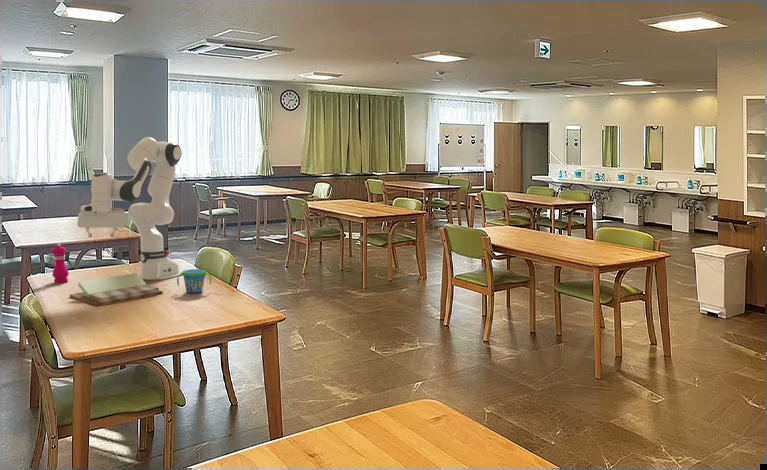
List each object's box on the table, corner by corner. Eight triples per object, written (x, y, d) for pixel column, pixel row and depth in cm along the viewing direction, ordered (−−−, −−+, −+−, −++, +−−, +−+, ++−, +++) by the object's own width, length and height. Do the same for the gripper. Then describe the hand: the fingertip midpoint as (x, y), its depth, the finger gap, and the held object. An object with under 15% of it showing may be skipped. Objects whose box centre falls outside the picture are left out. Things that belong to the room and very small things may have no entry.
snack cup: (212, 289, 317) (212, 268, 316) (210, 294, 307) (209, 273, 306) (179, 289, 315) (178, 269, 314) (175, 295, 305) (175, 273, 304)
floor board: (135, 285, 323) (134, 279, 323) (162, 293, 307) (162, 287, 307) (69, 296, 299) (69, 290, 299) (96, 306, 283) (95, 298, 283)
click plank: (135, 276, 318) (136, 273, 317) (146, 287, 313) (146, 284, 312) (78, 285, 297) (78, 282, 296) (88, 297, 292) (88, 294, 291)
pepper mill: (72, 281, 332) (69, 242, 329) (63, 284, 325) (61, 244, 322) (58, 280, 333) (56, 241, 330) (50, 283, 326) (47, 244, 323)
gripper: (124, 207, 312) (123, 236, 313) (77, 206, 302) (76, 236, 303) (126, 208, 306) (125, 237, 307) (78, 207, 296) (78, 238, 297)
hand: (101, 237), depth 305 cm, fingers open, 8 cm apart
